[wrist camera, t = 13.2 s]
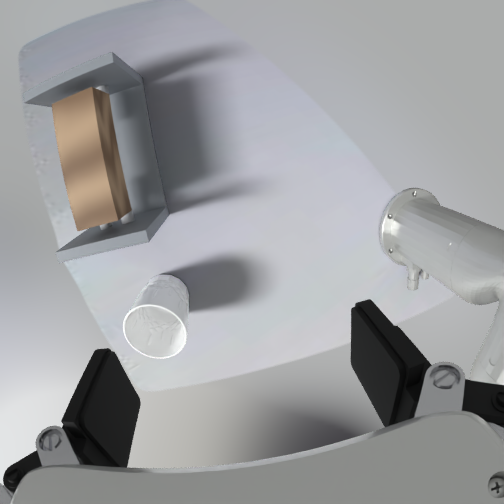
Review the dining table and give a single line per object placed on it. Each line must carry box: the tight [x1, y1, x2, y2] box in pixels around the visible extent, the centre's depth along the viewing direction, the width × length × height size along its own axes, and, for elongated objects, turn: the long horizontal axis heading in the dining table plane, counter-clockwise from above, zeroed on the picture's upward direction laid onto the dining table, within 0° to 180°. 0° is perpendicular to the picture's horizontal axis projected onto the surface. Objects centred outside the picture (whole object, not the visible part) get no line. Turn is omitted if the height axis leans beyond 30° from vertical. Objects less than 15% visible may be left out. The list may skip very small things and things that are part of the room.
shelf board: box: [52, 87, 132, 231], centre depth 27 cm, size 14×5×5 cm, turn 10°
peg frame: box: [23, 52, 169, 263], centre depth 30 cm, size 19×11×12 cm, turn 10°
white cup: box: [123, 275, 189, 359], centre depth 38 cm, size 8×8×10 cm
